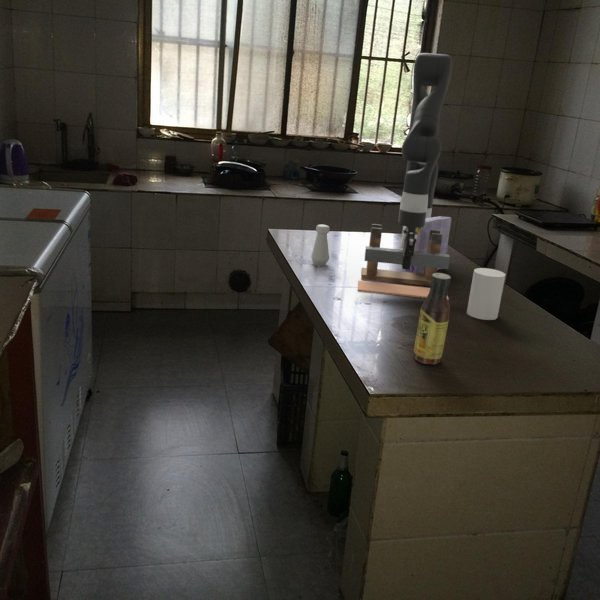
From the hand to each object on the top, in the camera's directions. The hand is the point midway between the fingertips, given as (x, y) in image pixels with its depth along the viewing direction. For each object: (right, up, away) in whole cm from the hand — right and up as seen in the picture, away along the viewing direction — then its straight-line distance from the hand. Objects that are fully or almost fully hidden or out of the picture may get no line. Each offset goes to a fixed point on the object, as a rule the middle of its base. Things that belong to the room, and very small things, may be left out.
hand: (405, 267), depth 189 cm
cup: (+19, -14, -12) cm, 26 cm away
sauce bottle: (-3, -23, -45) cm, 51 cm away
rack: (0, -3, +14) cm, 14 cm away
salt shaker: (-24, +2, +23) cm, 34 cm away
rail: (0, +1, 0) cm, 1 cm away
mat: (-1, -7, +2) cm, 7 cm away
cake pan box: (+11, 0, +26) cm, 28 cm away
